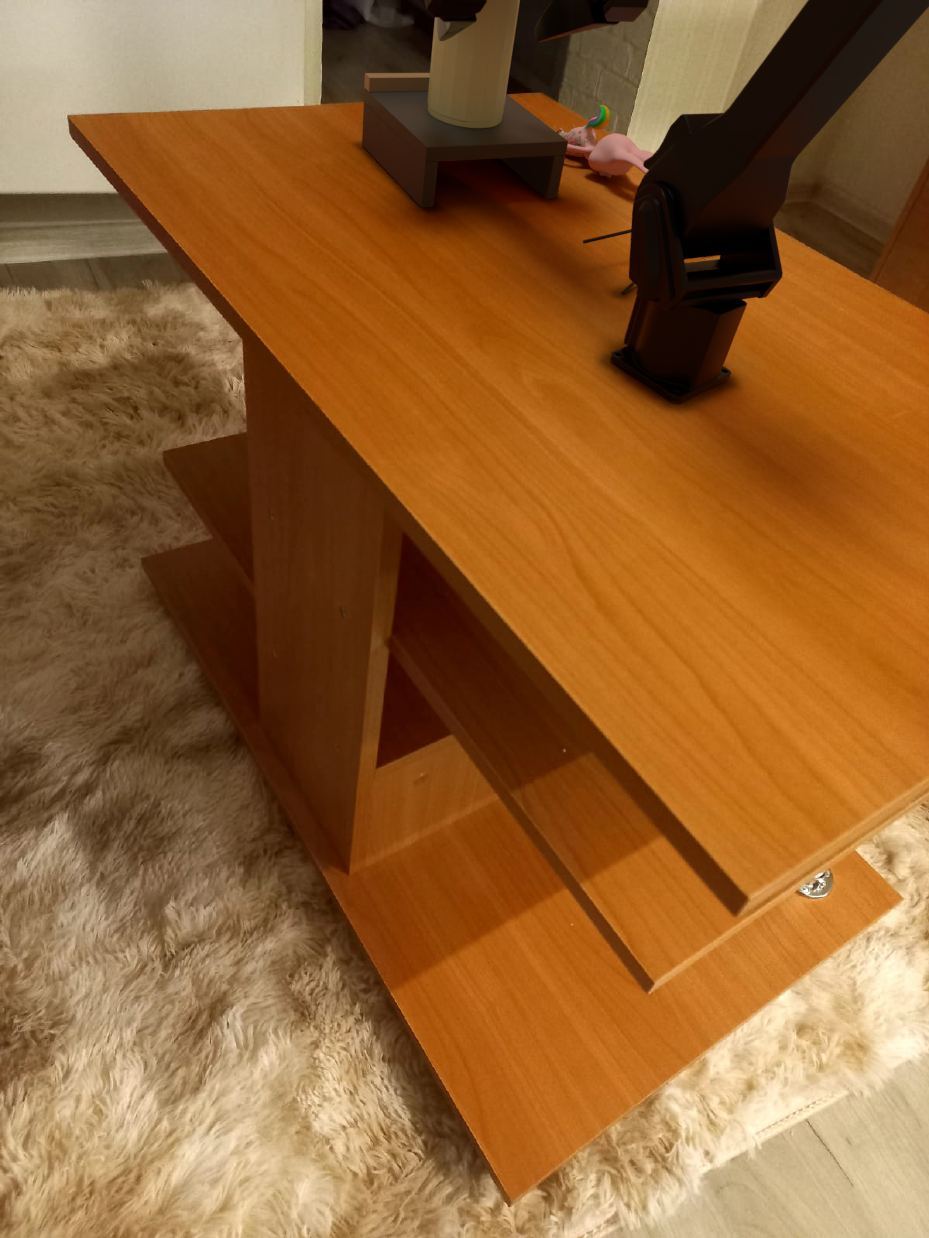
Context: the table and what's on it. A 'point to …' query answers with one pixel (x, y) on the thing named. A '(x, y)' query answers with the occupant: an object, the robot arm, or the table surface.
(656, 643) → the table surface
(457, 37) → the bottle
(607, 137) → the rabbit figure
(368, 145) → the shelf
